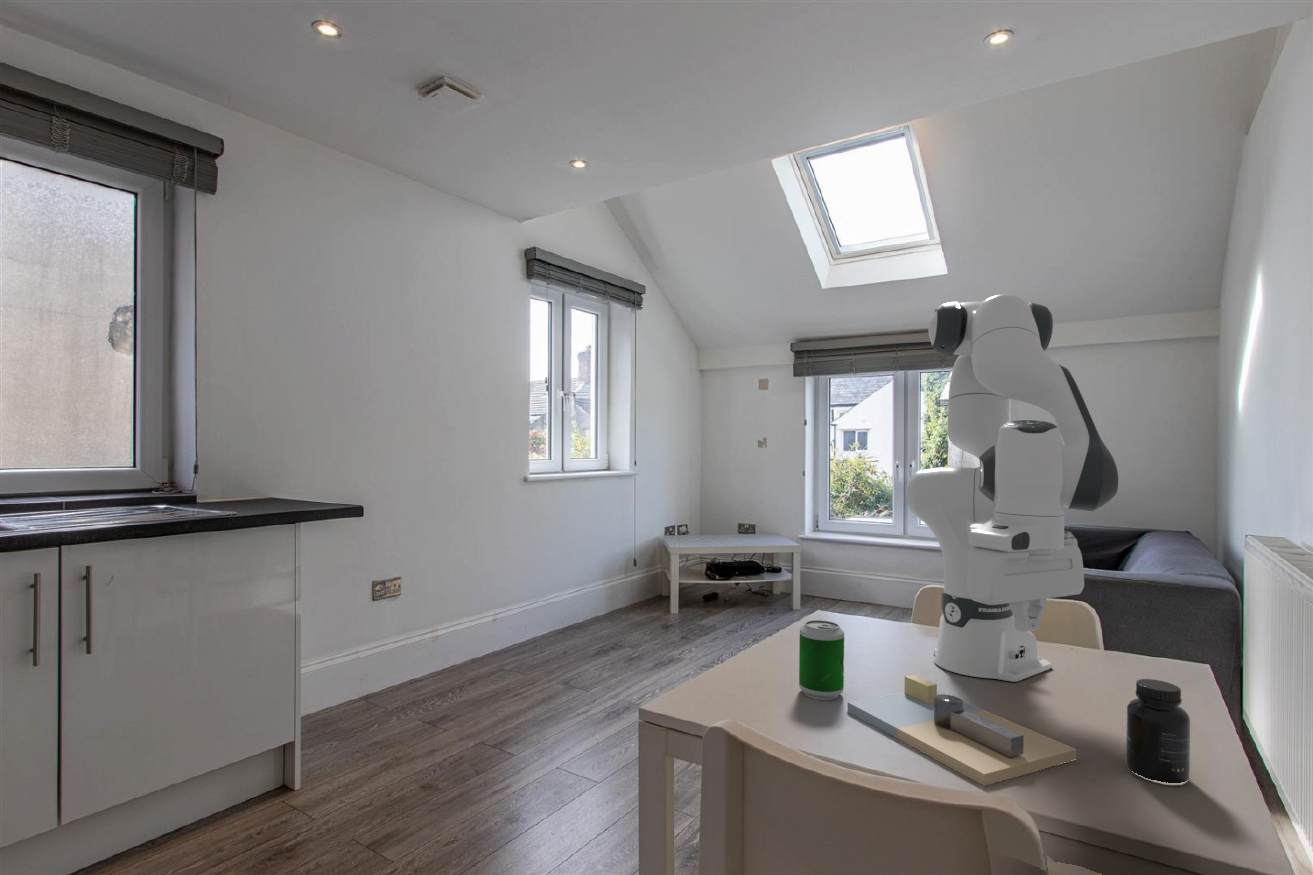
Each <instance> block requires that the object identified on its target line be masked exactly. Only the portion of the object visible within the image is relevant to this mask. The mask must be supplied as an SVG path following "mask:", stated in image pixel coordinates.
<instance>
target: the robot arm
mask: <svg viewBox="0 0 1313 875" xmlns="http://www.w3.org/2000/svg"><path fill="white" fill-rule="evenodd" d="M927 332H928V337H929V341H930V344H931V347H932V349H933V350H934V351H935V352H936V353H939V354H942V355H946V356H953V355H956V356H958V357H957V358H956V360H955V362H954V363H953V367H952V372H951V376H950V382H949V383H950V384H949V388H948V404H947V406H948V407H947V426H946V428H947V430H946V431H947V432H946V434H947V437H948V439H949V441H950V443H951V444H953V445H954V446H955V447H956V448H958V449H960V450H962V451H964V452H965V453H967V454H971V455H972V456H974V457H976V458H977V460H978V461H979V466H978V467H958V466H955V467H953V466H952V467H948V466H939V467H937V466H936V467H932V468H931V467H930V468H925V469H919V470H917V471H915V472H914V473H913V474H912V475H911V477H910V478H909V479H908V482H907V485H906V488H905V500H906V502H907V506H908V507H909V509H910V510H911V512H912V513H913V514H914V515H915V516H916V517H917V518H918V519H920V520H921V521H922V522H923V523H925V525H926V526H928V528H929V529H930V530H931V532H932V533H933V535H934V536H935V539H936V540H937V541H938V544H939V547H940V552H941V557H942V563H943V564H942V565H943V590H942V591H941V597H940V602H941V604H940V605H941V610H942V614H941V616H940V618H939V625H938V626H939V627H938V634H937V636H938V637H937V644H936V647H935V648H933V654H934V660H933V661H934V663H935V664H936V665H937V666H939V667H940V668H942V669H944V670H946V671H949V672H953V673H956V674H960V675H964V676H968V677H972V678H973V677H974V678H982V679H994V680H995V679H996V680H1000V681H1001V680H1002V681H1007V682H1013V683H1014V682H1015V683H1016V682H1019V681H1022V680H1024V679H1025V680H1026V679H1027V678H1030V677H1032V676H1033V677H1034V676H1035V675H1038V674H1040V673H1043V672H1045V671H1048V670H1050V668H1051V669H1052V668H1053V667H1052V662H1050V661H1049V660H1048V659H1045V658H1043V657H1041V656H1040V655H1039V653H1038V652H1039V651H1038V642H1037V638H1036V636H1035V634H1034V633H1032V632H1033V631H1038V630H1040V628H1041V619H1042V616H1043V614H1044V612H1045V610H1046V608H1047V599H1053V598H1060V597H1061V598H1062V597H1068V596H1069V597H1070V596H1075V595H1080V594H1081V593H1082V591H1083V590H1084V587H1085V574H1084V563H1083V562H1084V560H1083V555H1082V552H1081V549H1080V547H1079V546H1078V544H1079V543H1078V539H1077V538H1076V537H1075V535H1073V533H1072V532H1071V531H1069V530H1065V509H1064V508H1066V509H1067V508H1068V509H1070V510H1079V511H1087V512H1095V511H1096V510H1098V509H1100V508H1101V507H1103V506H1104V505H1106V504H1107V503H1109V502H1110V501H1111V500H1112V499H1113V498H1114V497H1115V496H1116V495H1117V492H1118V489H1119V472H1118V467H1117V463H1116V462H1115V459H1114V456H1113V455H1112V453H1111V452H1110V450H1109V449H1108V448H1107V446H1106V445H1105V443H1104V442H1103V440H1102V438H1101V435H1100V433H1099V431H1098V430H1097V426H1096V424H1095V422H1094V420H1093V418H1092V415H1091V413H1090V411H1089V408H1088V406H1087V404H1086V402H1085V399H1084V397H1083V395H1082V393H1081V390H1080V388H1079V386H1078V384H1077V383H1076V381H1075V378H1074V376H1073V375H1072V373H1071V372H1070V371H1069V369H1068V368H1067V367H1065V366H1063V365H1061V364H1059V363H1057V362H1055V361H1054V360H1053V359H1052V358H1051V357H1050V356H1049V355H1048V354H1047V353H1046V352H1045V351H1046V350H1047V349H1048V348H1049V345H1050V342H1051V340H1052V338H1053V334H1054V320H1053V314H1052V312H1051V310H1050V309H1049V307H1047V306H1045V305H1043V304H1039V303H1034V302H1027V301H1025V300H1024V299H1023V298H1022V297H1020V296H1018V295H1014V294H1009V293H1007V294H1006V293H1003V294H1002V293H1001V294H997V295H996V294H995V295H994V296H990V297H988V298H986V299H984V300H980V301H979V300H978V301H966V302H965V301H963V302H959V301H950V302H945V303H941V304H939V306H938V307H937V308H935V309H934V312H933V313H932V316H931V317H930V320H929V323H928V330H927ZM1009 400H1013V401H1018V402H1023V403H1025V404H1030V405H1032V406H1035V407H1039V408H1040V409H1043V410H1044V411H1047V413H1049V414H1050V415H1051V416H1052V417H1053V418H1054V420H1055V422H1056V423H1055V424H1054V423H1052V422H1049V421H1043V420H1041V421H1039V420H1035V419H1033V420H1032V419H1029V420H1025V419H1024V420H1023V419H1022V420H1013V421H1009ZM1063 443H1064V444H1063ZM976 524H977V525H979V524H980V526H978V527H975V528H973V529H971V526H972V525H976ZM1031 631H1032V632H1031Z"/></svg>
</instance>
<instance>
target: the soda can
mask: <svg viewBox="0 0 1313 875" xmlns="http://www.w3.org/2000/svg"><path fill="white" fill-rule="evenodd" d="M798 652H799V657H798V658H799V659H798V660H799V661H798V662H799V663H798V664H799V666H798V667H799V668H798V671H799V672H798V679H799V680H798V687H799V689H800V690H801V691H802V692H803V694H804V695H805V696H807V697H808V698H811V699H813V700H820V701H831V700H835V699H837V698H839V695H841V694H842V693H844V689H845V688H844V686H845V685H844V683H845V675H844V674H845V631H844V630H843V629H842V628H841V627H840V625H839V623H836V622H834V621H829V620H823V619H822V620H821V619H815V620H807V621H805V623H804V624H803V625H802V626H800V629H799V651H798Z"/></svg>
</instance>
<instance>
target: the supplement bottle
mask: <svg viewBox="0 0 1313 875" xmlns="http://www.w3.org/2000/svg"><path fill="white" fill-rule="evenodd" d="M1135 684H1136V685H1135V688H1136V690H1135V696H1136V697H1137V698H1133V699H1132V700H1130V701H1129V702H1128V703H1127V706H1126V739H1125V740H1126V750H1125V751H1126V754H1125V755H1126V756H1125V757H1126V758H1125V759H1126V763H1125V764H1126V767H1127V769H1128V768H1129V769H1130V770H1131V771H1133V772H1134V773H1137V774H1138V775H1141V776H1143V777H1145V778H1148V779H1151V780H1157V781H1161V782H1166V783H1167V782H1168V783H1181V782H1185V781H1187V780H1189V781H1190V770H1191V768H1190V767H1191V766H1190V764H1191V762H1190V760H1191V758H1190V756H1191V717H1190V715H1189V714H1188V712H1187V711H1186V710H1185V709H1184V708H1182V707H1181V705H1182V702H1183V700H1182V691H1181V688H1180V687H1179V686H1178V685H1177V684H1176V685H1175V684H1174V683H1171V682H1167V681H1163V680H1160V679H1154V678H1152V679H1151V678H1140V679H1137V680H1136V683H1135ZM1129 769H1128V770H1129ZM1130 770H1129V771H1130ZM1131 771H1130V772H1131Z"/></svg>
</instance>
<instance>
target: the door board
mask: <svg viewBox="0 0 1313 875" xmlns="http://www.w3.org/2000/svg"><path fill="white" fill-rule="evenodd" d="M937 688H938V684H937V683H934V682H932V681H929V680H927V679H925V678H923V677H920V676H919V675H915V674H911V675H905V676H904V691H900V692H895V693H889V694H883V695H879V696H873V697H867V698H863V699H858V700H853V701H847V712H848V713H850V714H851V715H853V716H855V717H856V718H859V719H860V720H862V721H865V722H866V723H868V724H870V725H872V726H874V727H876V728H877V729H879V730H881V731H883V732H885V733H887V734H888V735H890V736H892V737H894V738H895V739H897V740H900V741H901V742H903V743H905V744H906V745H909V746H910V747H912V748H914V749H916V750H918V751H919V752H922V753H923V754H925V755H927V756H929V757H930V758H932V759H934V760H936V761H937V762H939V763H941V764H943V765H945V766H947V767H948V768H951V769H952V770H953V771H956V772H958V773H959V774H962V775H963V776H965V777H966V778H969V779H970V780H973V781H974V780H975V781H974V782H976V783H978V784H980V785H982V786H984V787H986V786H989V784H990V785H992V784H993V785H994V784H996V783H995V782H997V783H1000V782H1003V780H1004V781H1006V780H1007V781H1008V780H1010V779H1014V778H1018V777H1021V776H1026V775H1028V774H1033V773H1035V772H1039V770H1040V771H1043V770H1046V769H1045V768H1047V769H1049V768H1048V767H1050V766H1054V767H1056V766H1055V765H1057V764H1061V763H1064V762H1068V761H1071V760H1074V759H1076V760H1077V748H1074V747H1071V745H1068V744H1064V743H1063V742H1060V741H1058V740H1055V739H1053V738H1050V737H1049V736H1046V735H1044V734H1042V733H1040V732H1036V731H1034V730H1033V729H1029V728H1028V727H1026V726H1025V727H1024V726H1022V725H1020V724H1018V723H1015V722H1014V721H1011V720H1010V719H1009V720H1008V719H1007V718H1004V717H1002V716H1000V715H997V714H994V713H992V712H991V711H990V712H989V711H988V710H985V709H982V708H981V707H978V706H976V705H973V704H972V703H969V702H966V701H964V700H963V709H965V710H967V711H969V712H972V713H974V714H976V715H978V716H981V717H983V718H985V719H987V720H990V721H992V722H994V723H997V724H999V725H1001V726H1003V727H1006V728H1008V729H1010V730H1012V731H1015V732H1017V733H1019V734H1022V735H1024V745H1023V754H1021V755H1017V756H1014V757H1009V756H1007V755H1005V754H1003V753H1001V752H999V751H997V750H994V749H992V748H990V747H988V746H986V745H984V744H982V743H980V742H978V741H976V740H974V739H972V738H970V737H967V736H965V735H963V734H961V733H959V732H957V731H955V730H953V729H951V728H945V727H942V726H939V725H937V724H936V723H935V722H934V696H936V695H949V694H948V693H945V692H943V691H940V690H939V689H937ZM1068 763H1069V762H1068ZM1061 765H1062V764H1061ZM1057 766H1058V765H1057ZM1050 768H1051V767H1050ZM1042 769H1043V770H1042Z"/></svg>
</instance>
